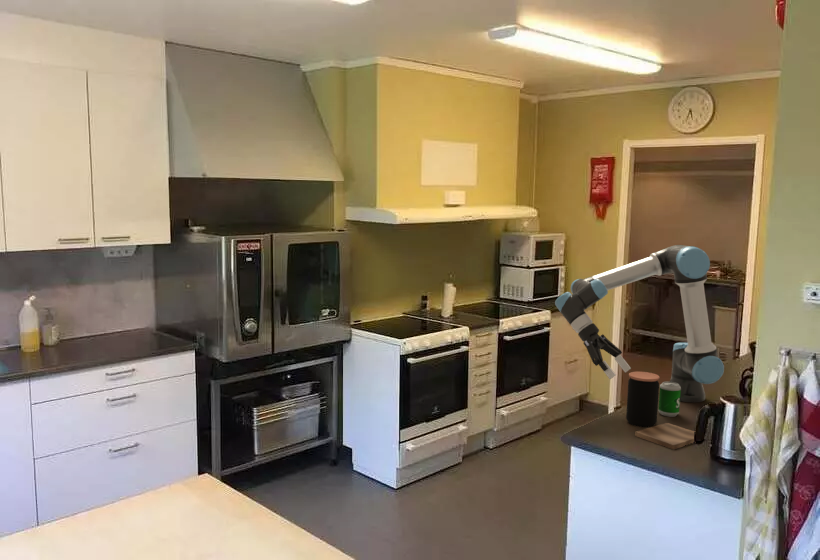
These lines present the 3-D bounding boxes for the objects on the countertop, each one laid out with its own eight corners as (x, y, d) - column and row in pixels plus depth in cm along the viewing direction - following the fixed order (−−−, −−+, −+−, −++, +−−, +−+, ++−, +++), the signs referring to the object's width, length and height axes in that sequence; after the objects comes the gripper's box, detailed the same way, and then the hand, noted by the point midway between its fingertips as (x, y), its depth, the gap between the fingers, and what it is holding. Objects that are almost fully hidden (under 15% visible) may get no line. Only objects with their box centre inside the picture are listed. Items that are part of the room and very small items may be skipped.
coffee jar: (652, 419, 251) (655, 372, 248) (660, 428, 240) (663, 379, 238) (623, 417, 252) (625, 370, 250) (629, 427, 241) (632, 378, 239)
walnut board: (666, 426, 242) (666, 422, 242) (705, 439, 230) (705, 435, 230) (635, 435, 232) (635, 431, 232) (673, 449, 220) (673, 445, 220)
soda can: (672, 418, 252) (675, 387, 250) (654, 413, 257) (656, 383, 256) (682, 414, 257) (684, 384, 255) (664, 409, 262) (666, 379, 261)
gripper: (593, 329, 268) (627, 373, 261) (563, 338, 250) (598, 385, 242) (606, 318, 264) (641, 362, 256) (576, 326, 246) (613, 374, 238)
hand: (620, 373), depth 249 cm, fingers open, 13 cm apart
